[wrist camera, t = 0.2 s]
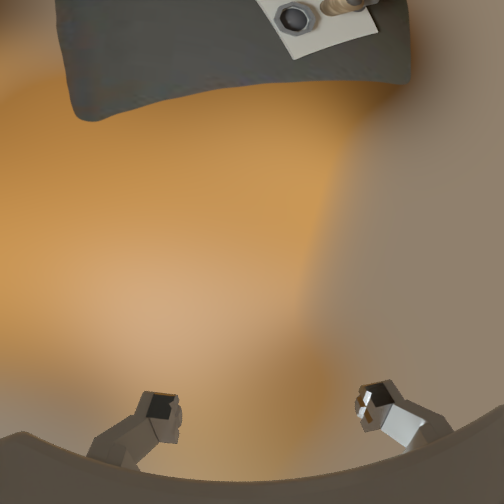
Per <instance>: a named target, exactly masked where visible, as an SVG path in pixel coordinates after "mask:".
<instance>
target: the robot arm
mask: <svg viewBox="0 0 504 504" xmlns="http://www.w3.org/2000/svg"><path fill="white" fill-rule="evenodd" d="M359 393H360V395H359V396H358V397H357V398H356V401H355V410H356V414H357V416H359V417H360V418H362V420H361V425H362V427H363V430H364V432H369V431H374V430H378V429H381V430H382V431H383V432H385V433H386V434H388V435H389V436H390V437H392V438H393V439H395V440H396V441H397V442H399V443H400V444H402V445H403V446H405V447H406V449H405V450H404V452H403V453H402V454H400V455H398V456H395V457H392V458H388V459H385V460H382V461H379V462H375V463H372V464H368V465H364V466H360V467H356V468H352V469H348V470H343V471H339V472H334V473H329V474H324V475H317V476H311V477H304V478H295V479H285V480H273V481H254V482H225V481H221V482H220V481H204V480H193V479H183V478H175V477H168V476H161V475H155V474H150V473H145V472H141V471H140V469H139V468H138V466H137V465H136V464H137V463H138V462H139V461H140V460H141V459H142V458H143V457H145V456H146V454H148V453H149V452H150V451H151V450H152V449H153V448H154V447H155V446H156V445H157V444H158V443H159V442H164V443H173V444H177V442H178V438H179V430H178V428H179V427H180V426H181V423H182V410H181V407H180V406H179V405H178V403H179V398H178V395H175V394H166V393H158V392H149V391H144V392H143V394H142V396H141V399H140V401H139V404H138V406H137V409H136V411H135V414H134V415H130V416H128V417H127V418H126V419H124V420H122V421H121V422H119V423H118V424H116V425H114V426H113V427H111V428H110V429H108V430H106V431H105V432H103V433H102V434H100V435H99V436H97V437H95V438H94V440H93V442H92V445H91V447H90V449H89V451H88V453H87V456H86V457H85V456H82V455H79V454H76V453H74V452H71V451H68V450H66V449H63V448H61V447H58V446H56V445H54V444H51V443H49V442H47V441H45V440H42V439H40V438H38V437H36V436H34V435H32V434H30V433H28V432H25V431H21V432H17V433H15V434H12V435H9V436H6V437H4V438H1V439H0V504H504V405H500V406H498V407H496V408H495V409H493V410H492V411H490V412H488V413H487V414H485V415H483V416H482V417H480V418H478V419H477V420H475V421H473V422H471V423H470V424H468V425H466V426H464V427H462V428H460V429H458V430H457V431H453V429H452V428H451V426H450V425H449V423H448V422H447V421H446V419H445V418H444V416H442V415H440V414H437V413H435V412H433V411H431V410H428V409H426V408H424V407H422V406H420V405H417V404H415V403H413V402H411V401H409V400H404V398H403V397H402V395H401V394H400V392H399V391H398V389H397V388H396V386H395V385H394V383H393V382H392V380H390V379H389V380H385V381H381V382H376V383H371V384H366V385H362V386H361V387H360V389H359Z"/></svg>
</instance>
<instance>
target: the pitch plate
mask: <svg viewBox="0 0 504 504" xmlns="http://www.w3.org/2000/svg"><path fill="white" fill-rule="evenodd" d="M256 1H257V3H258V4H259V6H260V7H261V8H262V10H263V11H264V13H265V14H266V16H267V17H268V19H269V21H270V22H271V24H272V25H273V27H274V28H275V30H276V32H277V33H278V35H279V36H280V38H281V40H282V41H283V43H284V45H285V47H286V48H287V50H288V52H289V53H290V55H291V57H292V59H293V60H295V59H298V58H300V57H303V56H305V55H308V54H310V53H313V52H316V51H318V50H321V49H324V48H327V47H330V46H333V45H336V44H339V43H342V42H345V41H348V40H352V39H355V38H359V37H362V36H366V35H370V34H374V33H378V30H377V28H376V26H375V24H374V22H373V20H372V18H371V16H370V14H369V12H368V10H367V8H366V6H368V5H372V4H376V3H378V2H379V0H364V6H363V7H362V8H361V9H359V10H355V11H351V12H348V13H344V14H340V15H337V16H333V17H330V16H326V15H324V14H323V13H322V12H321V10H320V3H321V2H322V1H324V0H256Z"/></svg>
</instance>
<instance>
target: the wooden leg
mask: <svg viewBox="0 0 504 504" xmlns="http://www.w3.org/2000/svg"><path fill="white" fill-rule="evenodd" d="M363 6H364V0H324V1H322V2H321V3H320V10H321V12H322V13H323V14H324V15H326V16H330V17H333V16H337V15H340V14H344V13H348V12H351V11H355V10H359V9H361V8H362V7H363Z"/></svg>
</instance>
